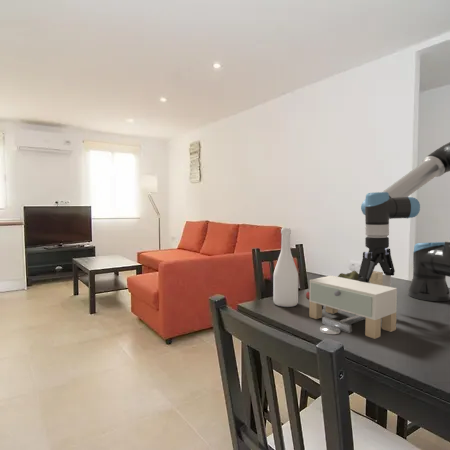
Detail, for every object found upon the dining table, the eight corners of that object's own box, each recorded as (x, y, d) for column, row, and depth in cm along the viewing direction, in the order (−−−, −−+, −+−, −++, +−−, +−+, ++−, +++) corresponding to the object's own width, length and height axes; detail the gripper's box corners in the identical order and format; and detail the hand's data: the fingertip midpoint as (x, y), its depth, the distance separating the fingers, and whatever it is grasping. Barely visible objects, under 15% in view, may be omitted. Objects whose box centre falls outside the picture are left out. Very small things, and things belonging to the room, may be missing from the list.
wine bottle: (282, 308, 125) (282, 229, 123) (268, 302, 134) (269, 227, 132) (302, 305, 129) (303, 228, 127) (288, 299, 137) (289, 227, 136)
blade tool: (366, 308, 124) (367, 269, 123) (393, 316, 116) (394, 273, 115) (322, 323, 109) (322, 278, 108) (349, 333, 101) (350, 284, 100)
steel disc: (336, 328, 106) (336, 324, 106) (343, 335, 100) (343, 332, 100) (317, 328, 106) (317, 325, 106) (323, 335, 100) (323, 332, 100)
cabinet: (330, 310, 123) (331, 275, 122) (396, 329, 103) (396, 288, 102) (306, 317, 115) (306, 280, 114) (371, 340, 95) (372, 295, 94)
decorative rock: (380, 299, 142) (383, 276, 141) (351, 301, 136) (355, 277, 135) (354, 288, 156) (357, 267, 154) (327, 289, 150) (330, 267, 148)
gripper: (385, 233, 127) (385, 288, 128) (346, 238, 113) (347, 300, 114) (405, 234, 121) (404, 292, 122) (367, 240, 106) (367, 305, 108)
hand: (377, 296), depth 118 cm, fingers open, 12 cm apart
